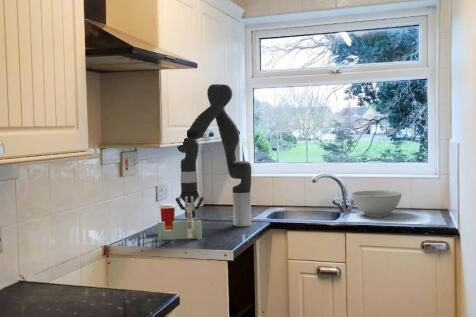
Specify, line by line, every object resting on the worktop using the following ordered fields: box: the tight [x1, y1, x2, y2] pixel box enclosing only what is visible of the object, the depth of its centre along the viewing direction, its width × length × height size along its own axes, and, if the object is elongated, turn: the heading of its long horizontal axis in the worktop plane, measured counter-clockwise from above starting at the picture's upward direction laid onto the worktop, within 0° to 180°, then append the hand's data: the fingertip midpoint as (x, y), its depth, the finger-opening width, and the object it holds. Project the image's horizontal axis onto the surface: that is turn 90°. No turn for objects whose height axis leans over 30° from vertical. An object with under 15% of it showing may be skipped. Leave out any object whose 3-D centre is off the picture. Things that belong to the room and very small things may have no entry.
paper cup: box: [159, 202, 176, 230], centre depth 254 cm, size 8×8×14 cm
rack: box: [156, 220, 203, 242], centre depth 240 cm, size 8×20×8 cm, turn 92°
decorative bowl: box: [351, 190, 403, 218], centre depth 286 cm, size 27×27×12 cm
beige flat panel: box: [186, 202, 195, 238], centre depth 239 cm, size 16×2×15 cm, turn 2°
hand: (190, 218), depth 239 cm, fingers closed on beige flat panel, 2 cm apart
